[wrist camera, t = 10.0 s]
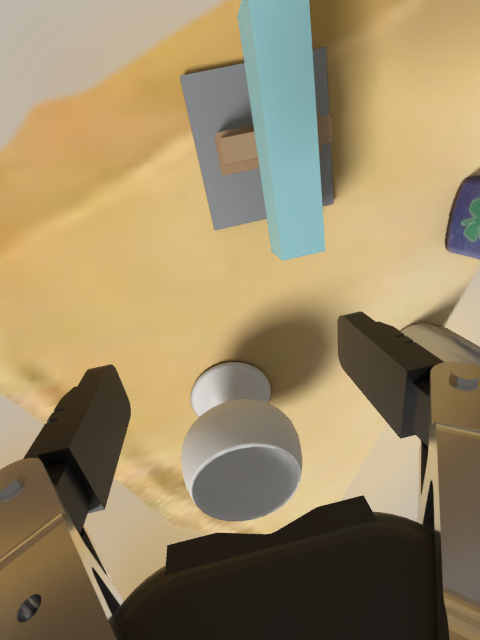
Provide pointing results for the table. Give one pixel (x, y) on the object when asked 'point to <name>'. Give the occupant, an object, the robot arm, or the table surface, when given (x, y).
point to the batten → (284, 121)
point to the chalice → (239, 446)
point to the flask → (465, 220)
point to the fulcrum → (243, 140)
